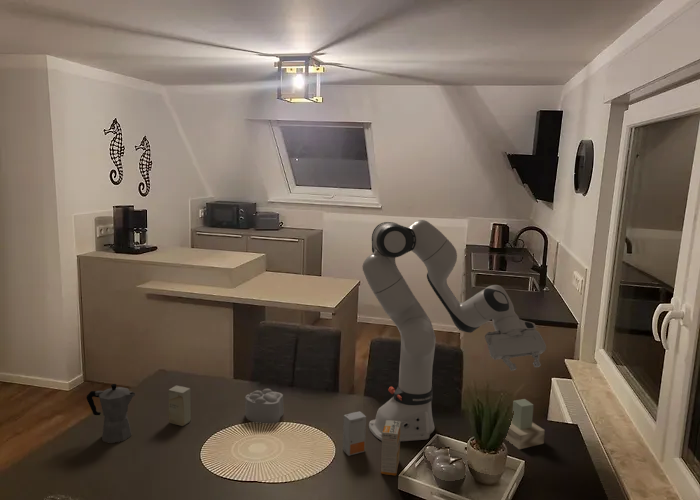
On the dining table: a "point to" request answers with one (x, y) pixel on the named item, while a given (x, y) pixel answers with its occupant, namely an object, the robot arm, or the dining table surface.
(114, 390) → the coffeepot
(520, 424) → the sage block
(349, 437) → the skincare box
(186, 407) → the skincare box
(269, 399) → the lumpy-topped squat cylinder
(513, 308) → the robot arm
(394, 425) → the supplement box
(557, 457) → the dining table surface
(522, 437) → the ash block
